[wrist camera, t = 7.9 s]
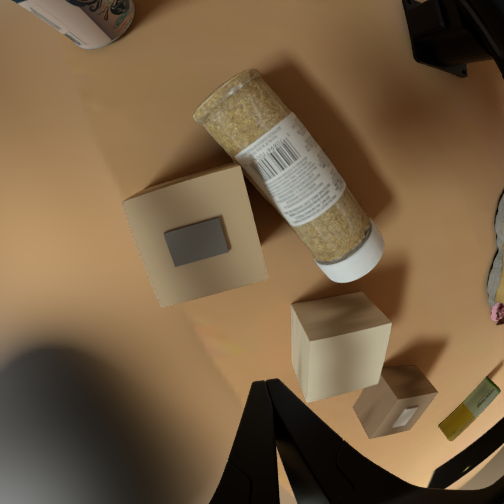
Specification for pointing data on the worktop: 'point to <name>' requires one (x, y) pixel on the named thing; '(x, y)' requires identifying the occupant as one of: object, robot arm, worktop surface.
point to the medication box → (470, 409)
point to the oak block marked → (197, 235)
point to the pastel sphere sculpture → (498, 271)
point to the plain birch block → (338, 344)
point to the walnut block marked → (394, 401)
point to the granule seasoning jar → (292, 174)
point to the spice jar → (85, 18)
